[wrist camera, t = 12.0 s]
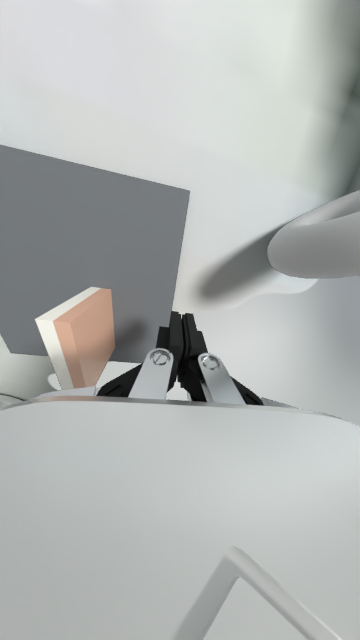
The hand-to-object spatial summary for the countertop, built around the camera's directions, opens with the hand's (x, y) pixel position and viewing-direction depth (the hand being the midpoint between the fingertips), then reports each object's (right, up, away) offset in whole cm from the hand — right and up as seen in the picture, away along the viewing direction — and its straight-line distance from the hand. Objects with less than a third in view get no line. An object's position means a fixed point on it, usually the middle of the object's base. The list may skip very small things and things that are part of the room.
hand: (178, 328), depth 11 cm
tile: (-9, +1, +6) cm, 11 cm away
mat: (-11, +4, +4) cm, 12 cm away
